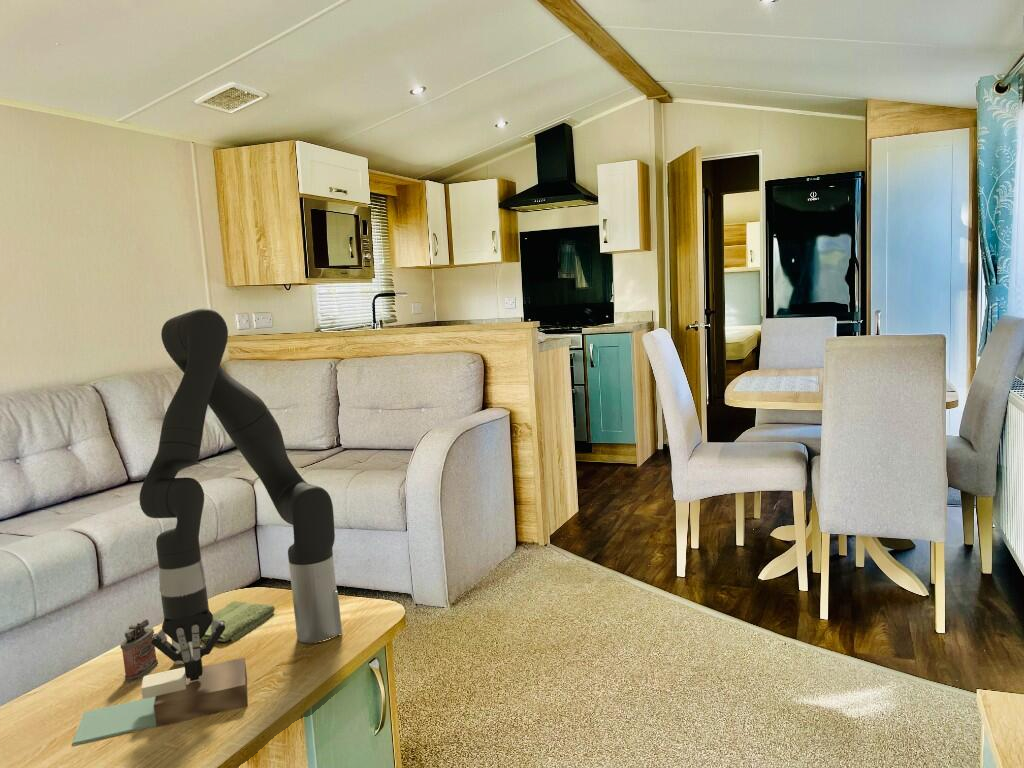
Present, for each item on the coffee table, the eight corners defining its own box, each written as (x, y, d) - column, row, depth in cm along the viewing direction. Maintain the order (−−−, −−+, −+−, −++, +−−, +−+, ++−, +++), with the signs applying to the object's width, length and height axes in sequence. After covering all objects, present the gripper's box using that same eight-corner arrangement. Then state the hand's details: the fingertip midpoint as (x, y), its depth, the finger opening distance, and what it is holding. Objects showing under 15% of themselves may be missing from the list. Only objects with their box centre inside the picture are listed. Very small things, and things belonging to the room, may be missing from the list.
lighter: (135, 682, 150) (129, 633, 149) (120, 681, 151) (114, 633, 150) (162, 662, 158) (156, 616, 157) (147, 662, 158) (141, 616, 157)
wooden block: (247, 676, 148) (244, 657, 148) (247, 705, 137) (245, 684, 137) (162, 695, 144) (160, 675, 143) (156, 727, 132) (153, 705, 132)
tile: (186, 677, 141) (185, 667, 141) (185, 689, 137) (184, 678, 137) (144, 686, 139) (143, 676, 139) (142, 699, 134) (141, 688, 134)
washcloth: (180, 642, 168) (179, 628, 168) (235, 610, 185) (233, 597, 184) (229, 647, 164) (227, 633, 163) (280, 614, 180) (278, 601, 180)
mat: (162, 696, 143) (162, 694, 143) (156, 725, 133) (156, 723, 133) (84, 713, 139) (84, 711, 139) (72, 745, 129) (72, 742, 128)
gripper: (222, 573, 143) (233, 661, 145) (145, 587, 139) (157, 678, 141) (222, 586, 136) (233, 678, 138) (140, 601, 132) (153, 696, 134)
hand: (194, 678), depth 139 cm, fingers closed
